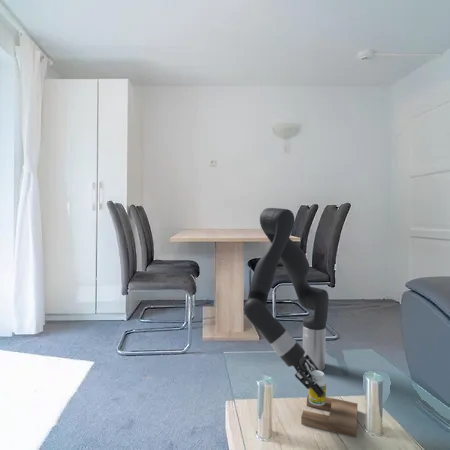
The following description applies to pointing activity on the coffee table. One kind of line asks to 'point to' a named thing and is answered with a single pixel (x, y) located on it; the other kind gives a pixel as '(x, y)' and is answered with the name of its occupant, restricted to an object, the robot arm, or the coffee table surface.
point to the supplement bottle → (321, 382)
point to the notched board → (333, 416)
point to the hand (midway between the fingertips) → (323, 390)
